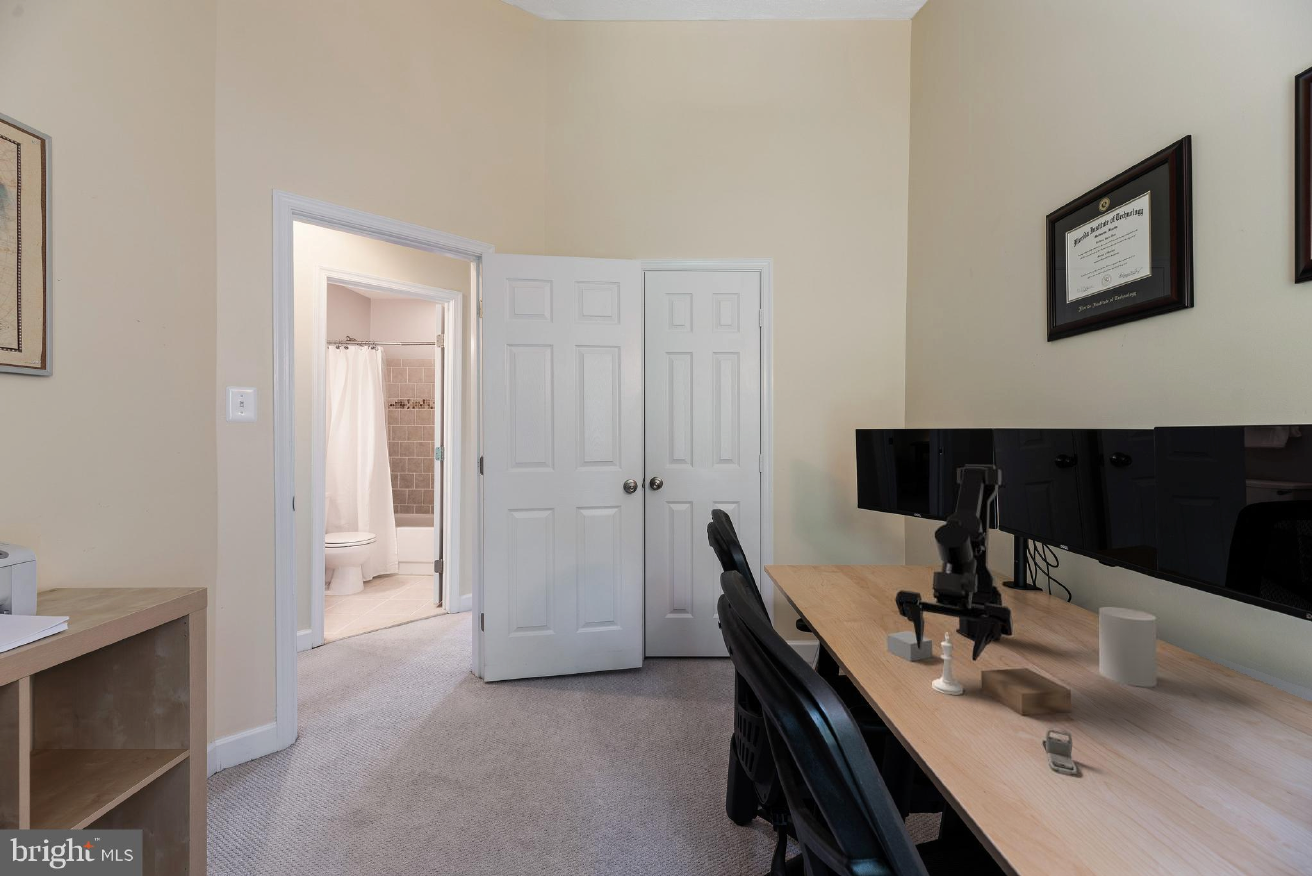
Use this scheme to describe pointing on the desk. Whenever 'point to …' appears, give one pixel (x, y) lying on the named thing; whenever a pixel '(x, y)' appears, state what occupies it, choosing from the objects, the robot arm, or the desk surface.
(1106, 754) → the desk surface
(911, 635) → the slate block
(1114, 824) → the desk surface
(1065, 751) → the grey sandwich maker
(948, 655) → the chess piece
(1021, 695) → the walnut block
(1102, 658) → the white cylinder
